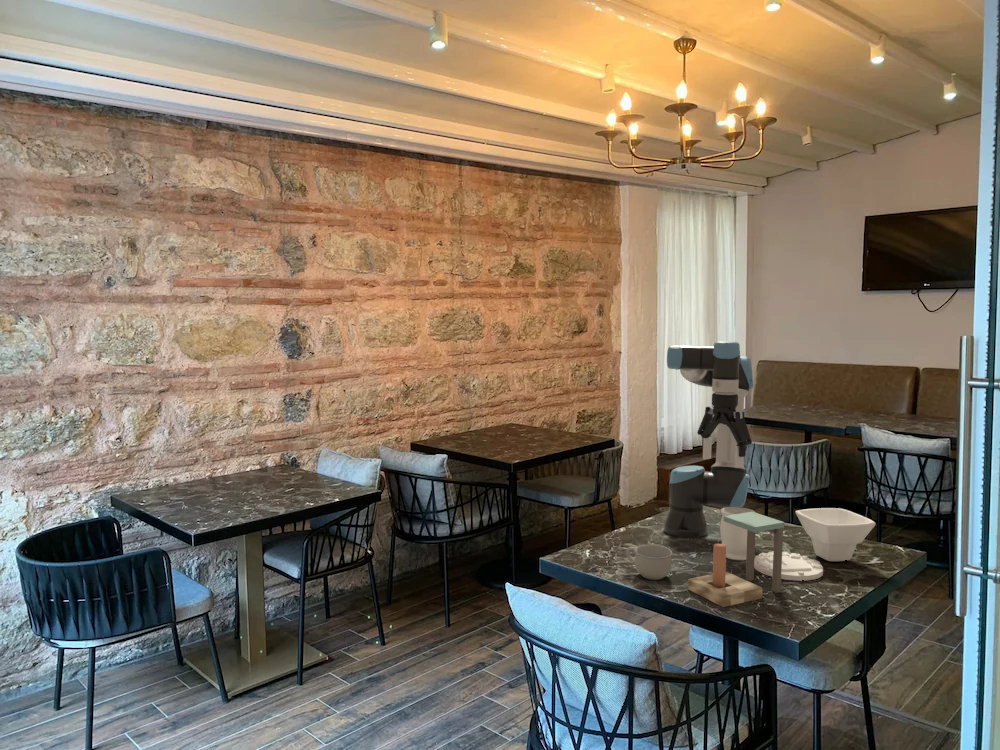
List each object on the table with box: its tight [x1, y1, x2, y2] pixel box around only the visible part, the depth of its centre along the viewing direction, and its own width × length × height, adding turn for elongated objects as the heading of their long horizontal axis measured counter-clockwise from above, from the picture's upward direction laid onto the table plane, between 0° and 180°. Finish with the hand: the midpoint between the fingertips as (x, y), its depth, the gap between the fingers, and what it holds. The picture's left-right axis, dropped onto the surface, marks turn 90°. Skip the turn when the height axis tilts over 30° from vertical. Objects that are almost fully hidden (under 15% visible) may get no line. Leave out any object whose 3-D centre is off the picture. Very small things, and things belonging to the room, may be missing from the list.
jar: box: [719, 507, 756, 561], centre depth 236 cm, size 11×10×15 cm
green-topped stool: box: [723, 511, 785, 594], centre depth 209 cm, size 12×11×20 cm
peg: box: [712, 543, 727, 589], centre depth 204 cm, size 3×3×14 cm
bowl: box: [795, 507, 876, 562], centre depth 234 cm, size 19×19×14 cm
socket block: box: [687, 571, 763, 608], centre depth 205 cm, size 14×14×3 cm
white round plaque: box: [754, 550, 824, 582], centre depth 224 cm, size 20×20×3 cm
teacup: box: [625, 543, 673, 581], centre depth 219 cm, size 14×11×8 cm
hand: (722, 463), depth 222 cm, fingers open, 13 cm apart
